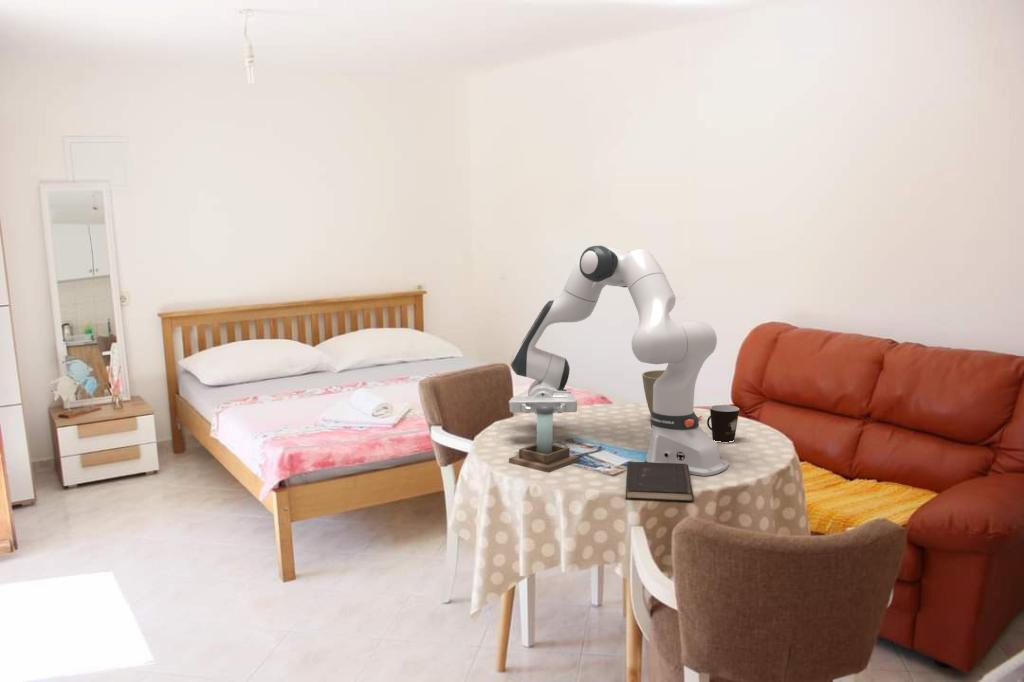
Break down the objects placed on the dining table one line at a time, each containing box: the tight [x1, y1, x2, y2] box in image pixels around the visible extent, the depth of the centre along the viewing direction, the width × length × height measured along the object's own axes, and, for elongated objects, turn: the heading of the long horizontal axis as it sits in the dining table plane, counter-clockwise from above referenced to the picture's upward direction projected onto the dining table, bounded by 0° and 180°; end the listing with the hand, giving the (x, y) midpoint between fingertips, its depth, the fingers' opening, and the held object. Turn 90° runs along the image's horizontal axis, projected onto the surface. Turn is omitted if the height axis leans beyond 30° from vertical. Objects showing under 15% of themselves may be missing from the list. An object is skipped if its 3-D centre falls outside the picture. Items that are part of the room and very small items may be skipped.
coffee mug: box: [706, 404, 740, 442], centre depth 256 cm, size 12×9×10 cm
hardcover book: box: [625, 461, 694, 503], centre depth 214 cm, size 16×23×2 cm
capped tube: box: [536, 404, 554, 454], centre depth 235 cm, size 5×5×15 cm
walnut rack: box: [508, 443, 581, 473], centre depth 236 cm, size 14×14×4 cm
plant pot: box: [641, 369, 666, 415], centre depth 279 cm, size 15×15×16 cm
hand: (543, 410), depth 246 cm, fingers open, 8 cm apart
